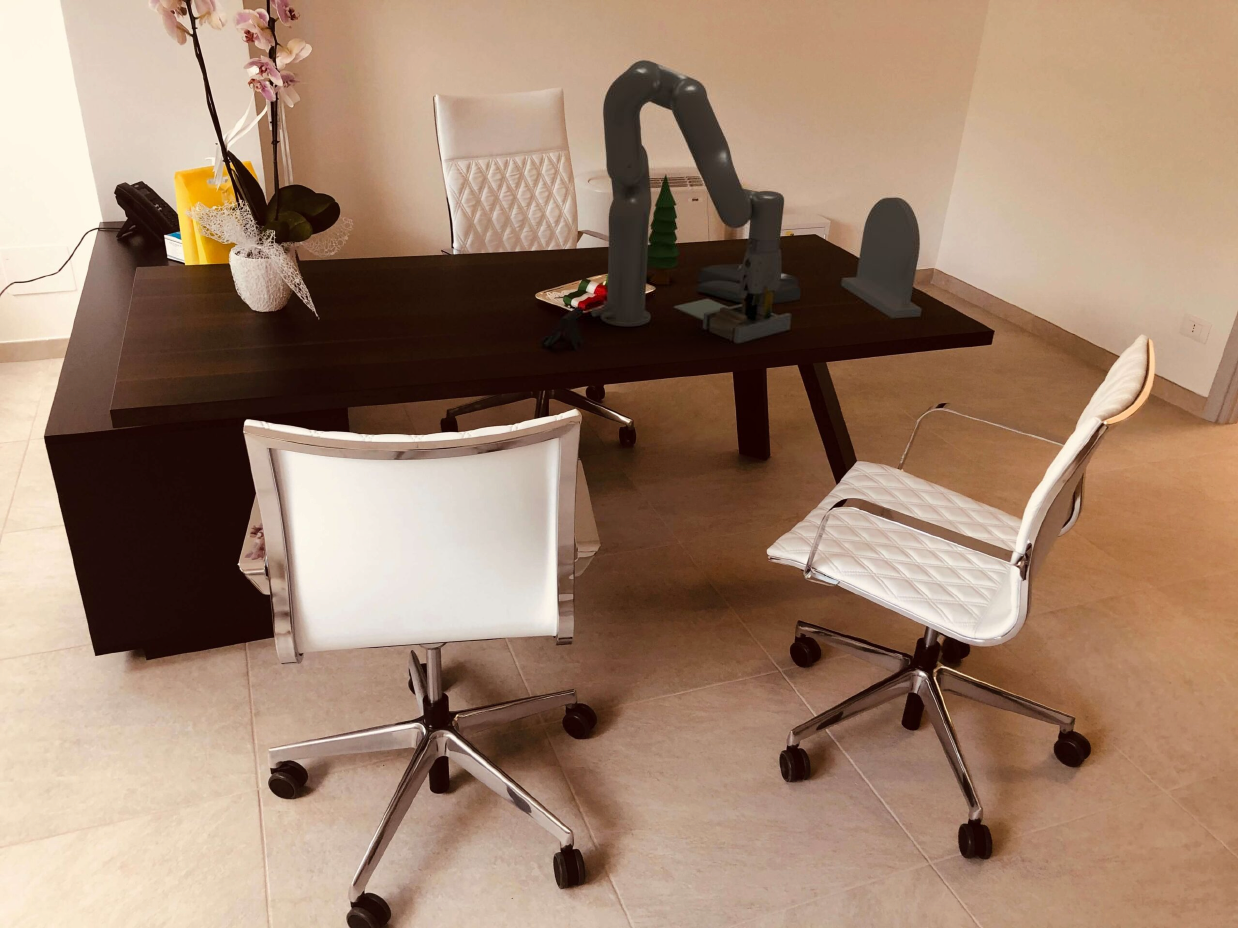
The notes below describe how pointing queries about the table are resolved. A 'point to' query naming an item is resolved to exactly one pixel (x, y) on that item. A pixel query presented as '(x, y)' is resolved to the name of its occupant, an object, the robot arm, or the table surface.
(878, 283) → the gray tombstone
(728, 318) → the offcut stack
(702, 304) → the mat
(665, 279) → the decorative tree
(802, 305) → the table surface
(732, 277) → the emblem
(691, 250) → the table surface
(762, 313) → the crayon box
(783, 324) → the rack
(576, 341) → the portable electronic device stand
